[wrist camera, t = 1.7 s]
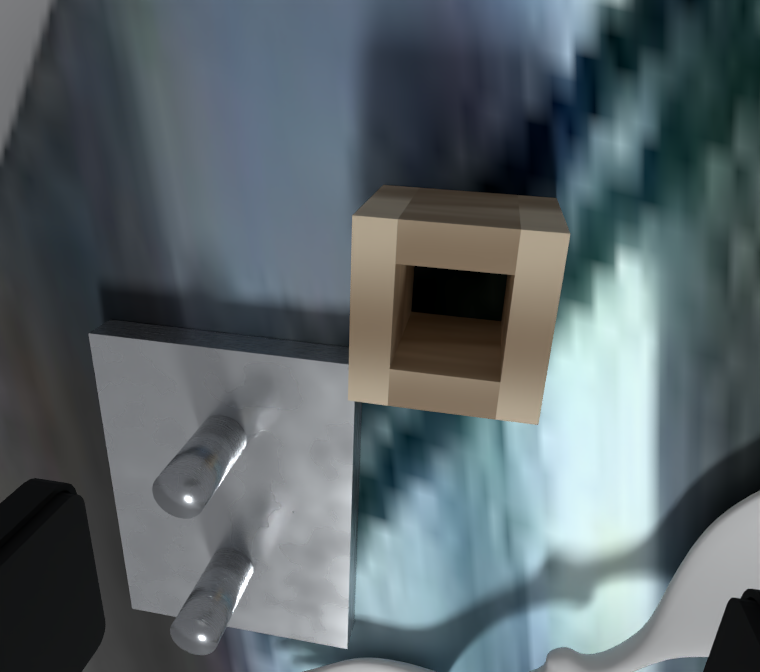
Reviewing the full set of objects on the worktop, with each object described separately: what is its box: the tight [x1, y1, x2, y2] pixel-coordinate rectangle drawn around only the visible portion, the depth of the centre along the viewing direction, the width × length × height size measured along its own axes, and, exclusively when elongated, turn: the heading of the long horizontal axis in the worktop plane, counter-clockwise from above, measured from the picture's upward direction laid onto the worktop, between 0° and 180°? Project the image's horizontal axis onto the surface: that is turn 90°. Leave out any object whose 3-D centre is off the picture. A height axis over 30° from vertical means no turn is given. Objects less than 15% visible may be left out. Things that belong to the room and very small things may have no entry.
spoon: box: [304, 491, 760, 672], centre depth 27 cm, size 9×32×4 cm, turn 125°
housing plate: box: [89, 320, 362, 655], centre depth 26 cm, size 15×11×6 cm
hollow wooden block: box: [348, 185, 570, 425], centre depth 21 cm, size 6×6×5 cm
